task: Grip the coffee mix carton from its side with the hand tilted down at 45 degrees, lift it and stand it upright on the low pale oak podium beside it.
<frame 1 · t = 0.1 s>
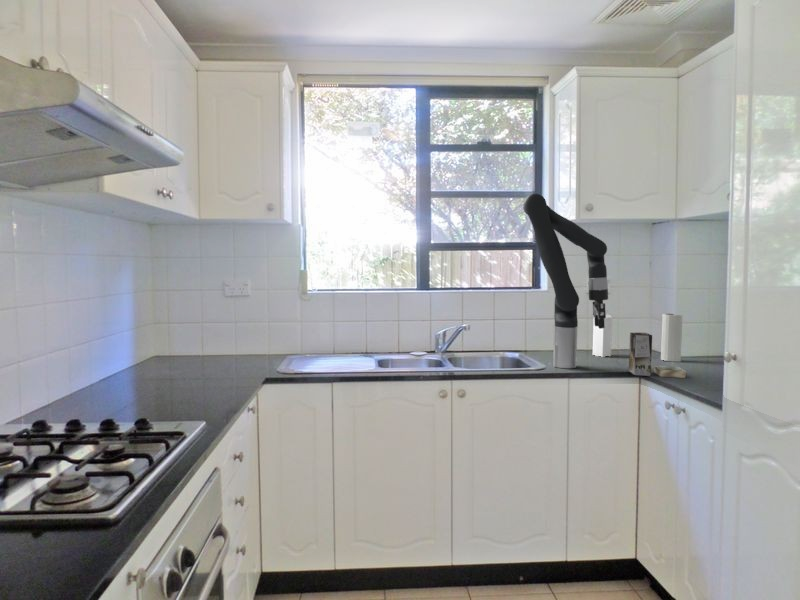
hand: (599, 327, 213), 17 cm above the table, tool pointing down, fingers open, 8 cm apart
coffee box: (639, 373, 204), on the table
podium: (669, 374, 202), on the table
paper towel roll: (668, 361, 232), on the table
milk: (601, 356, 244), on the table
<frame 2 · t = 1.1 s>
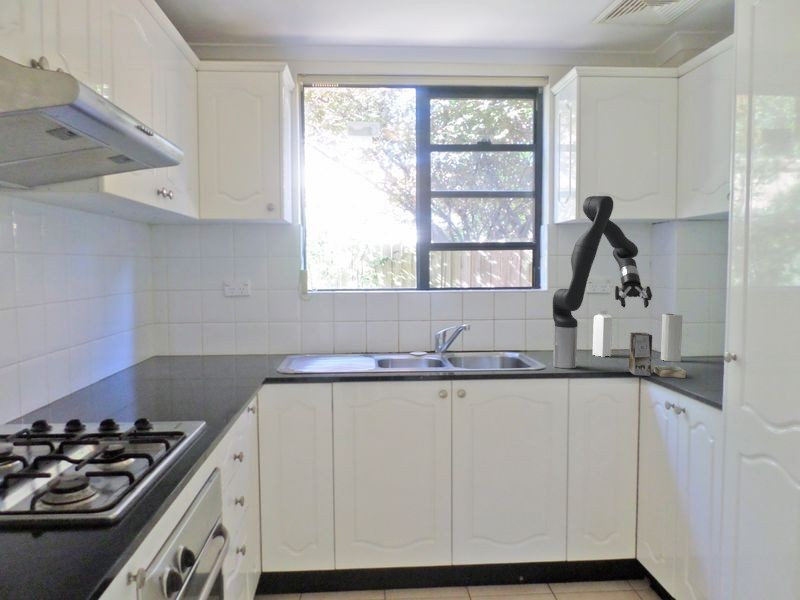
hand: (635, 306, 214), 26 cm above the table, tool tilted 45°, fingers open, 8 cm apart
nothing on the table moved.
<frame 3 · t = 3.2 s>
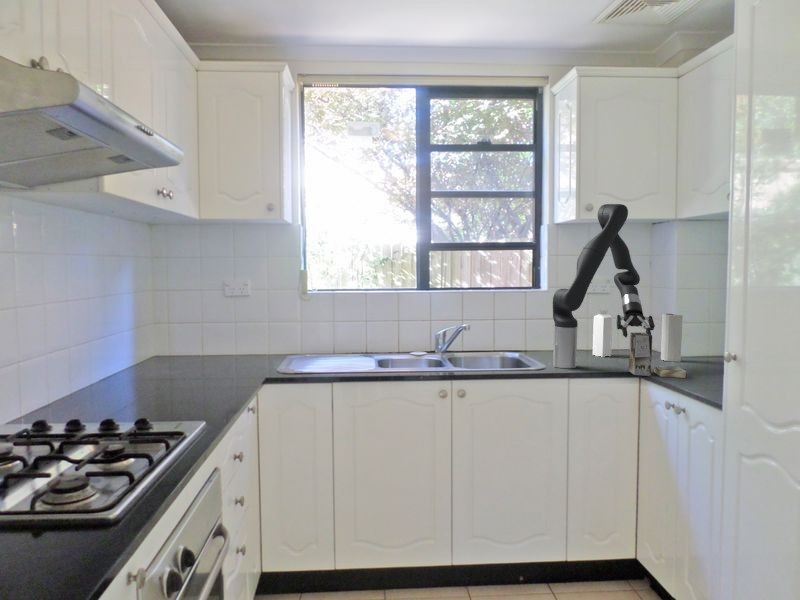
hand: (637, 336, 209), 14 cm above the table, tool tilted 45°, fingers open, 8 cm apart
nothing on the table moved.
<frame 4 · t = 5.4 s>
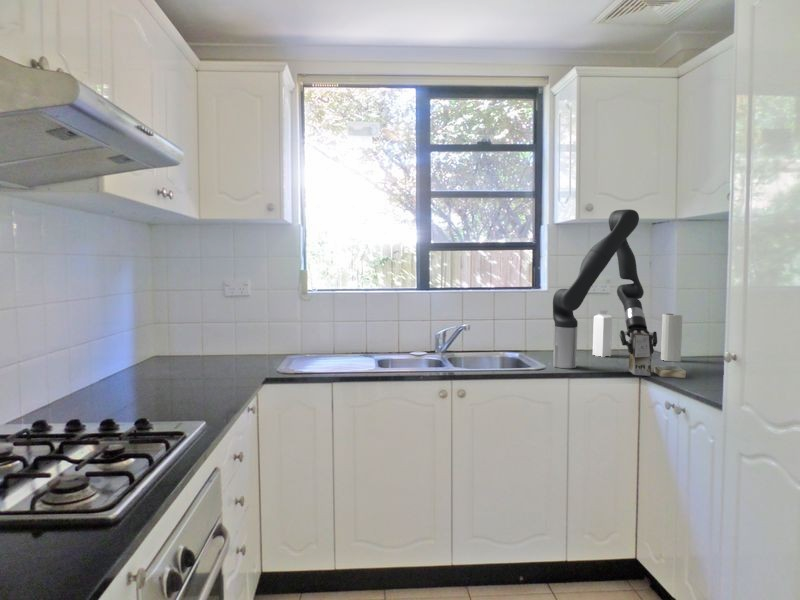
hand: (641, 353, 202), 8 cm above the table, tool tilted 45°, fingers closed on coffee box, 6 cm apart
coffee box: (639, 373, 204), on the table, touching gripper
everything else where it was.
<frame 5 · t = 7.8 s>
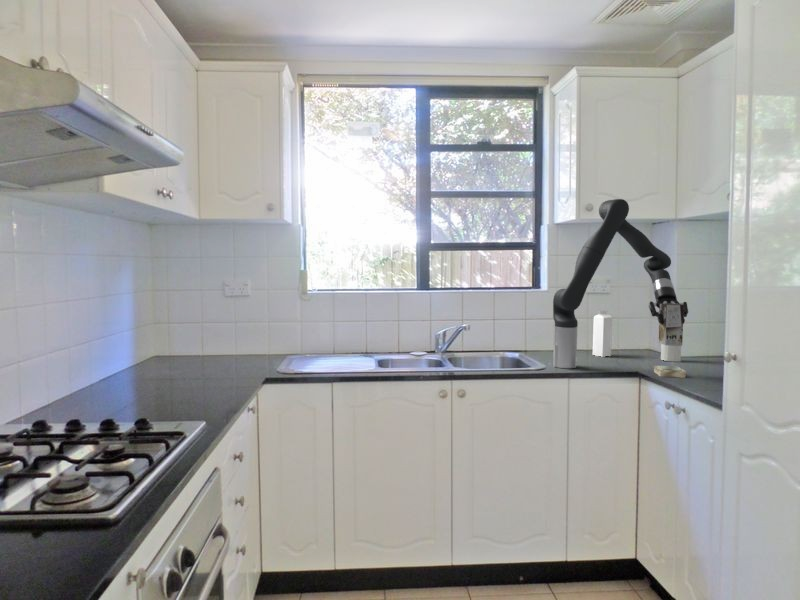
hand: (672, 323, 200), 21 cm above the table, tool tilted 45°, fingers closed on coffee box, 6 cm apart
coffee box: (670, 344, 202), point 12 cm above the table, touching gripper
everything else where it was.
when the fingers open (12 cm above the table, at t = 10.3 s): coffee box stays where it is, resting on podium.
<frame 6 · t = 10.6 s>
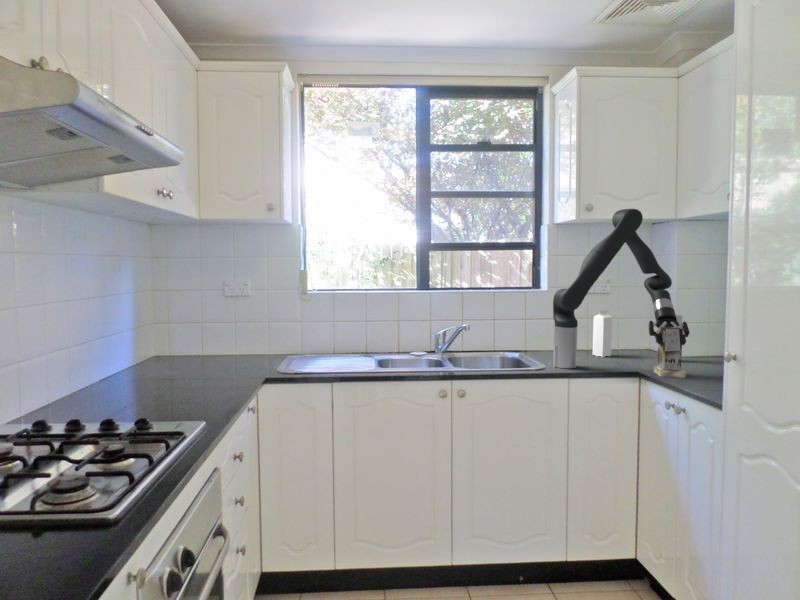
hand: (671, 343, 200), 13 cm above the table, tool tilted 45°, fingers open, 8 cm apart
coffee box: (668, 368, 202), point 3 cm above the table, touching podium
everything else where it was.
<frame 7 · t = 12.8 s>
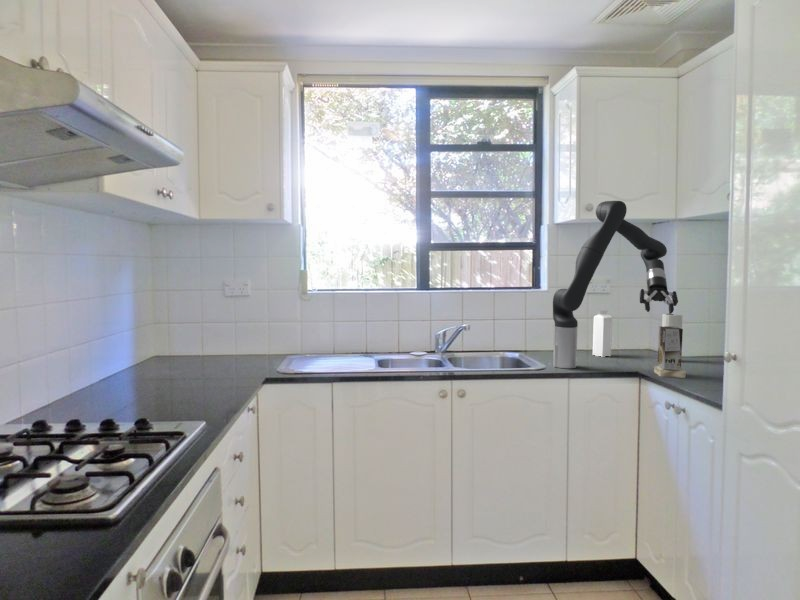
hand: (659, 311, 211), 24 cm above the table, tool tilted 40°, fingers open, 8 cm apart
nothing on the table moved.
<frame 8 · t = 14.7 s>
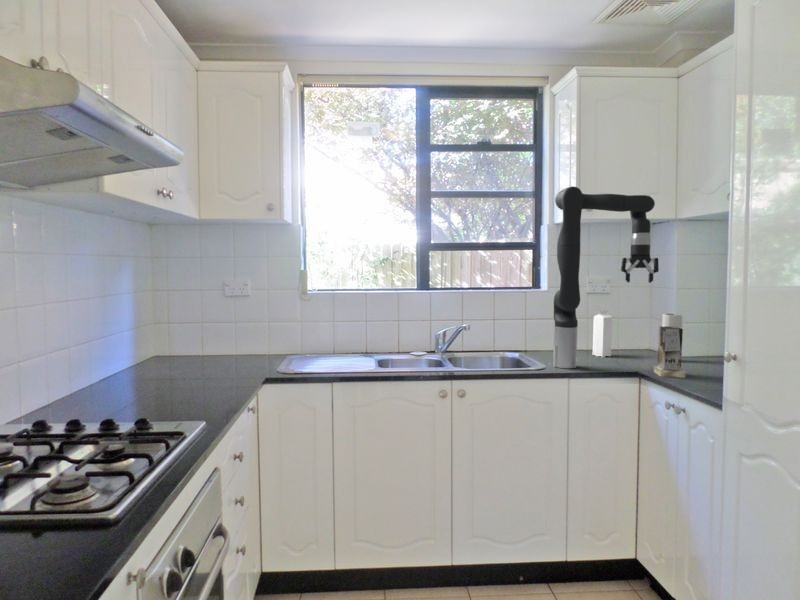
hand: (639, 282, 216), 36 cm above the table, tool pointing down, fingers open, 8 cm apart
nothing on the table moved.
at the end: coffee box inside the target area on the podium (0.3 cm from its centre), point 2.6 cm above the podium's base; coffee box tilted 0°; the gripper is holding nothing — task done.
